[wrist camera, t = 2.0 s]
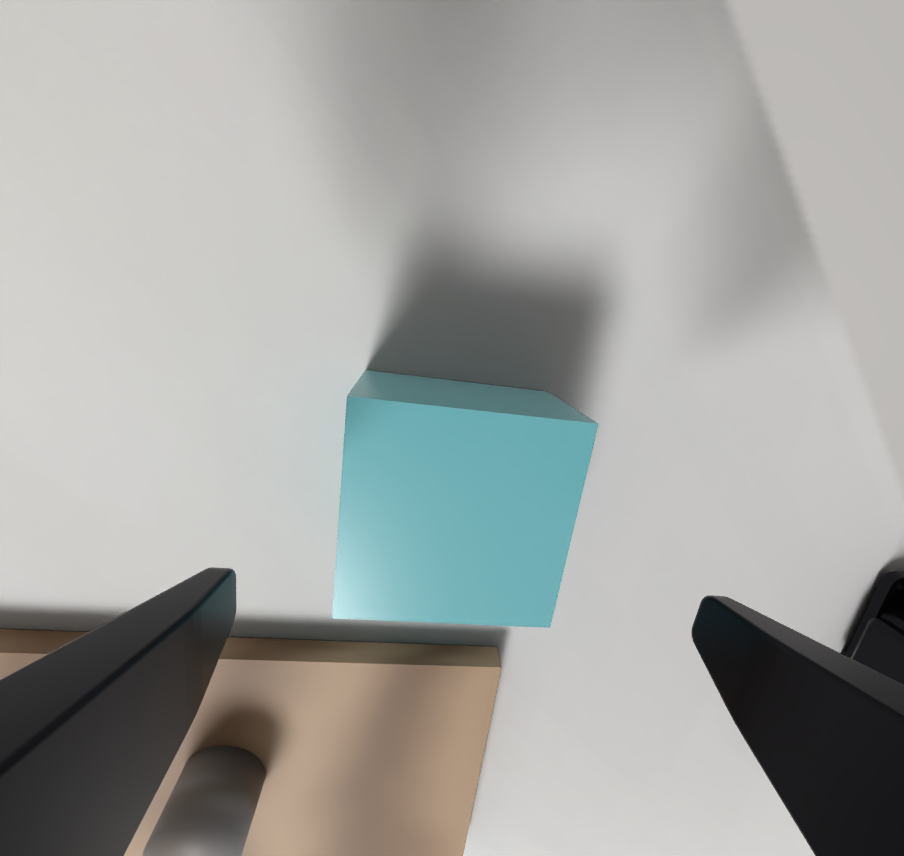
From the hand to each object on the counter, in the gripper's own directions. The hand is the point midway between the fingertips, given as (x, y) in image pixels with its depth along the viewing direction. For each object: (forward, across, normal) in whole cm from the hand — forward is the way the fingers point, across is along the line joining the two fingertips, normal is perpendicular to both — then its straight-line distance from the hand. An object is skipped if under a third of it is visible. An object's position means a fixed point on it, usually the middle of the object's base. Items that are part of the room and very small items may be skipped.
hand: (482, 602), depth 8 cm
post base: (+7, +7, +13) cm, 16 cm away
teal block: (+7, 0, 0) cm, 7 cm away
